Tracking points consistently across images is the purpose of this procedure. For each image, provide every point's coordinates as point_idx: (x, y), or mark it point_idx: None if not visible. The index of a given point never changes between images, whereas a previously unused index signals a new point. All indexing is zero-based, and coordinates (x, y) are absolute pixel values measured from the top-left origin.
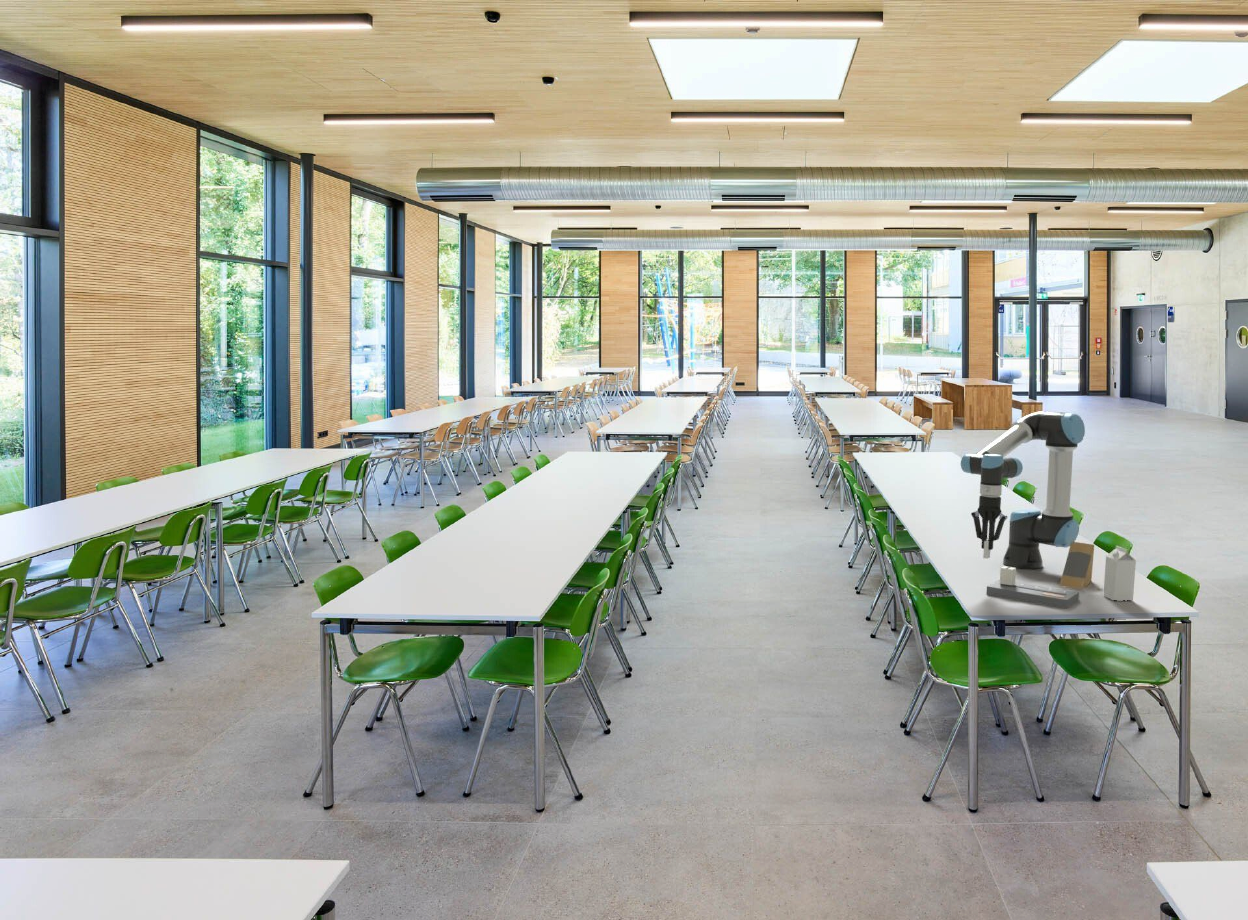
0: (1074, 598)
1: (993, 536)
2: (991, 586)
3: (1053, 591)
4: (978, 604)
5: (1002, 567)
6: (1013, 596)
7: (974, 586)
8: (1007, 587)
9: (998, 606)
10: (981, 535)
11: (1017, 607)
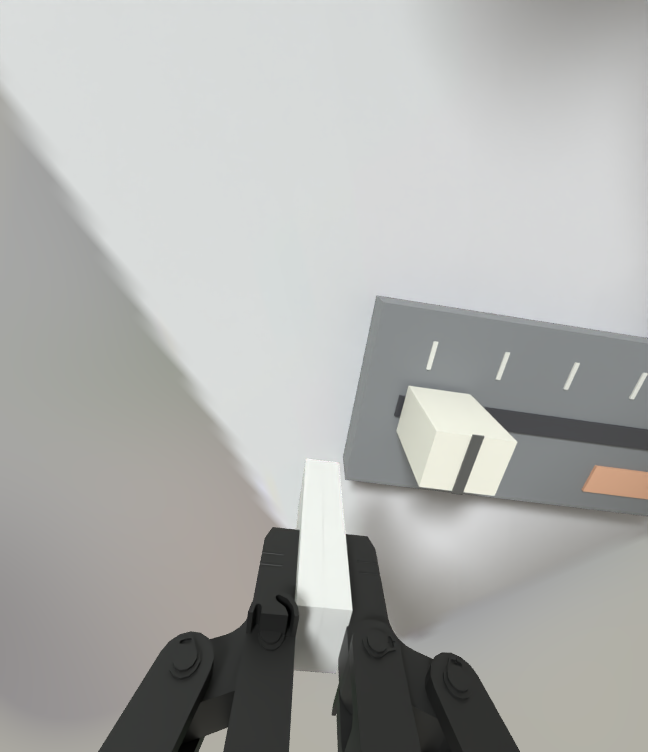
0: None
1: (403, 722)
2: (364, 473)
3: (644, 416)
4: None
5: (429, 473)
6: None
7: (264, 359)
8: None
9: (408, 575)
10: (212, 718)
11: (468, 558)
